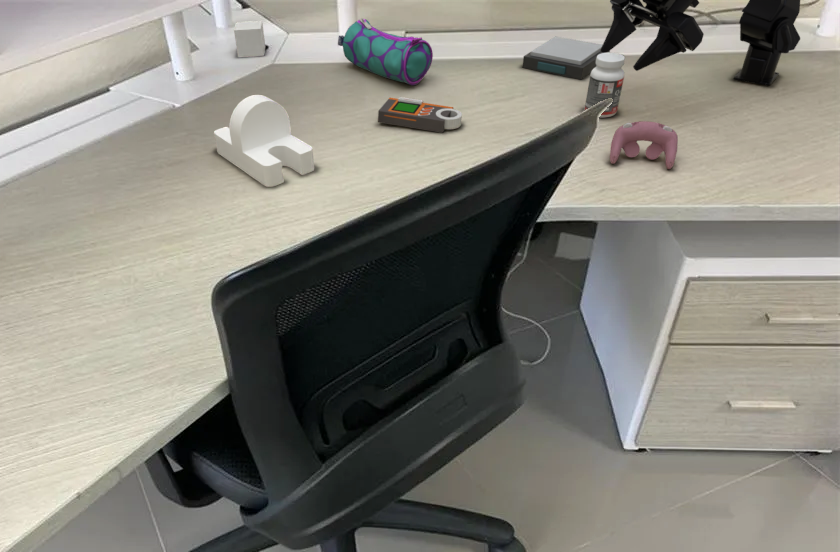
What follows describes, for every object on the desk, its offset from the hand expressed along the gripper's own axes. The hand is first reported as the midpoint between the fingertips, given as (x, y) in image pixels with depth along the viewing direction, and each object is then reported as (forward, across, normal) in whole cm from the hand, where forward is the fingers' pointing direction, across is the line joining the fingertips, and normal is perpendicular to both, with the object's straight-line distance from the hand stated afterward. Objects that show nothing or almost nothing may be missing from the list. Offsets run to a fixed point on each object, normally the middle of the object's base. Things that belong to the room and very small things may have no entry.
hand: (617, 60), depth 122 cm
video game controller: (+11, +18, +2) cm, 22 cm away
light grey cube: (+43, -63, -30) cm, 82 cm away
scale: (+2, -24, +11) cm, 26 cm away
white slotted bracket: (+51, -9, -38) cm, 64 cm away
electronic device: (+30, -11, -16) cm, 35 cm away
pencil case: (+27, -36, -14) cm, 47 cm away
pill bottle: (+8, 0, +5) cm, 9 cm away
